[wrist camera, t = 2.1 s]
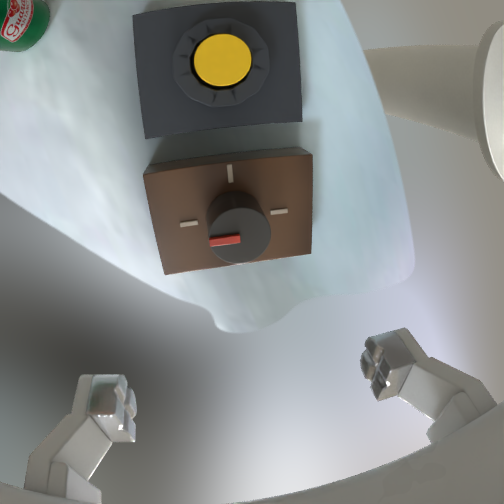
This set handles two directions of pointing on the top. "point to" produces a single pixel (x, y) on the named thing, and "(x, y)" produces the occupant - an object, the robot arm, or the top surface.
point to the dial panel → (219, 182)
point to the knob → (237, 227)
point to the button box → (206, 95)
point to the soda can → (22, 23)
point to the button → (222, 60)
